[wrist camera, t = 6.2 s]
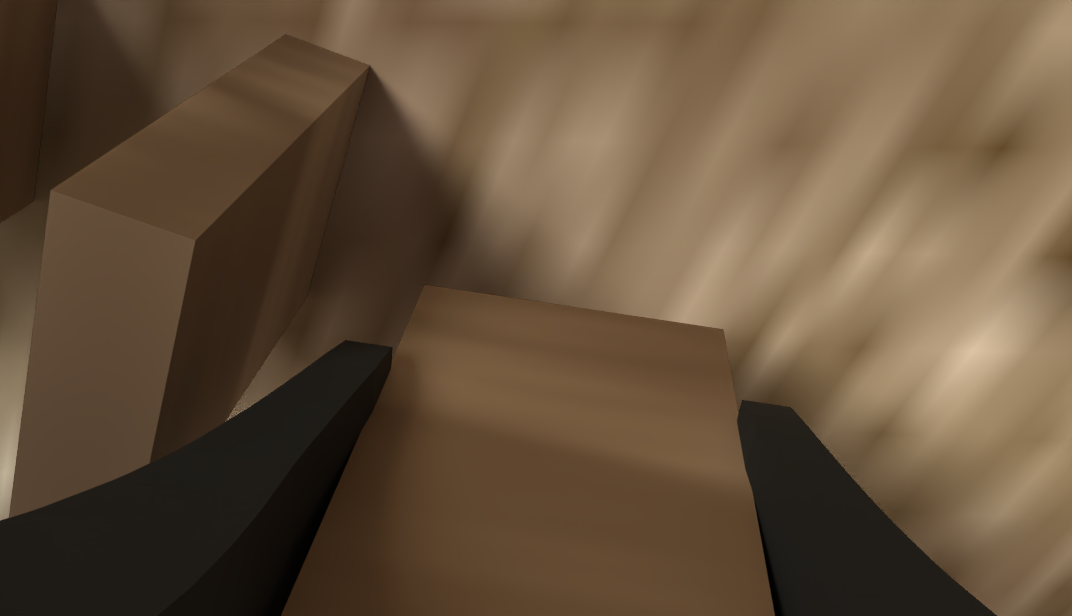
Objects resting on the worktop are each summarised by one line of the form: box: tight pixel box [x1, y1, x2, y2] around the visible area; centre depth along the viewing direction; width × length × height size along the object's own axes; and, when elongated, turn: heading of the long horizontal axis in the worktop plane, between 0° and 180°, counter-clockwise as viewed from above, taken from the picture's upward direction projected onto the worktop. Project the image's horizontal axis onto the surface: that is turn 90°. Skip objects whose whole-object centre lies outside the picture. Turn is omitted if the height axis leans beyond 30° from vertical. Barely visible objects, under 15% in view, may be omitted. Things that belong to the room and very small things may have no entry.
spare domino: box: [281, 285, 775, 616], centre depth 12 cm, size 1×4×7 cm, turn 83°
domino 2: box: [9, 35, 370, 518], centre depth 14 cm, size 1×4×7 cm, turn 160°
